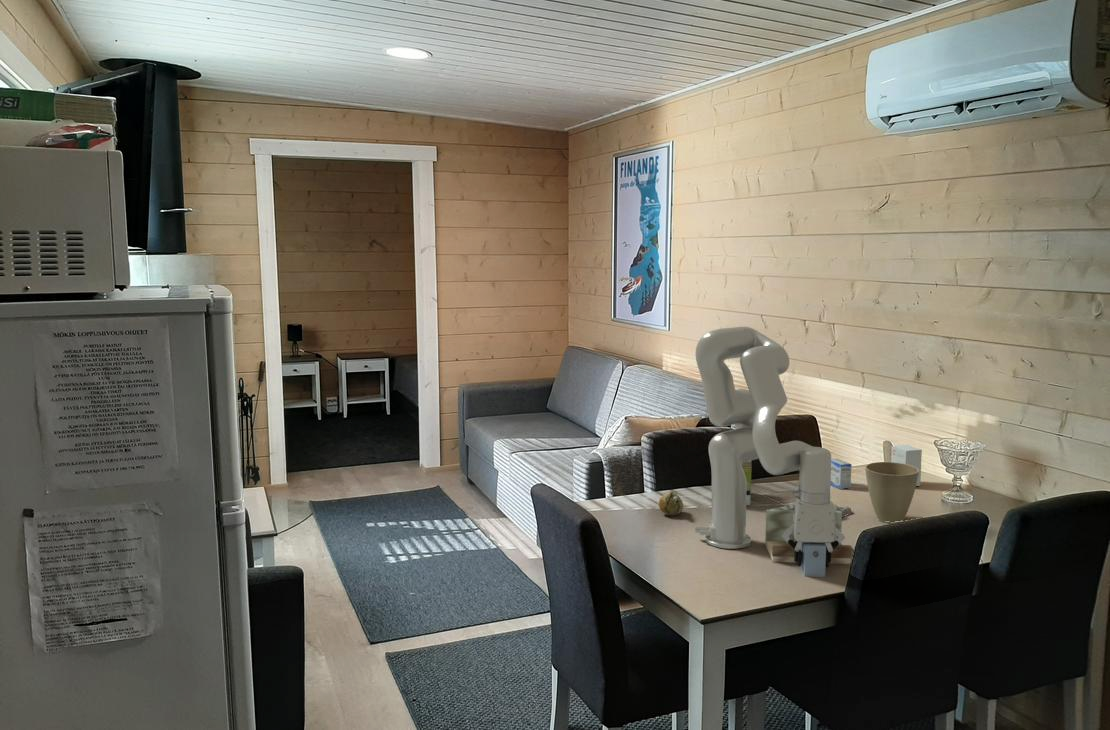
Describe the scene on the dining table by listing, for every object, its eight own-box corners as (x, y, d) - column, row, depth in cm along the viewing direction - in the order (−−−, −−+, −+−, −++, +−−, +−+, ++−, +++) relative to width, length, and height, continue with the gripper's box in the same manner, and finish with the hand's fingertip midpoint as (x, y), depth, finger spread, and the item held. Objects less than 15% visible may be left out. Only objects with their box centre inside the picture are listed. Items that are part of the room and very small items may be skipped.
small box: (920, 486, 281) (922, 449, 279) (904, 488, 279) (906, 450, 277) (905, 480, 288) (907, 444, 286) (889, 481, 287) (891, 445, 285)
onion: (688, 513, 257) (689, 488, 255) (675, 520, 250) (675, 494, 249) (667, 508, 261) (668, 484, 260) (654, 515, 255) (654, 490, 254)
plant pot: (878, 508, 258) (880, 459, 256) (925, 519, 247) (927, 468, 245) (853, 519, 249) (855, 468, 246) (901, 531, 238) (904, 477, 235)
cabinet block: (805, 577, 206) (805, 546, 205) (799, 565, 214) (800, 536, 213) (825, 577, 206) (826, 547, 204) (819, 566, 213) (820, 536, 212)
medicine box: (825, 483, 286) (826, 459, 285) (836, 482, 288) (837, 458, 286) (839, 489, 279) (840, 464, 278) (851, 488, 280) (852, 463, 279)
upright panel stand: (772, 561, 216) (773, 525, 215) (765, 544, 229) (766, 509, 228) (851, 563, 214) (852, 526, 213) (839, 545, 227) (840, 510, 226)
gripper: (781, 500, 204) (779, 569, 207) (853, 501, 203) (850, 571, 205) (776, 491, 212) (775, 558, 214) (846, 492, 210) (843, 560, 212)
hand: (812, 564), depth 210 cm, fingers open, 6 cm apart
